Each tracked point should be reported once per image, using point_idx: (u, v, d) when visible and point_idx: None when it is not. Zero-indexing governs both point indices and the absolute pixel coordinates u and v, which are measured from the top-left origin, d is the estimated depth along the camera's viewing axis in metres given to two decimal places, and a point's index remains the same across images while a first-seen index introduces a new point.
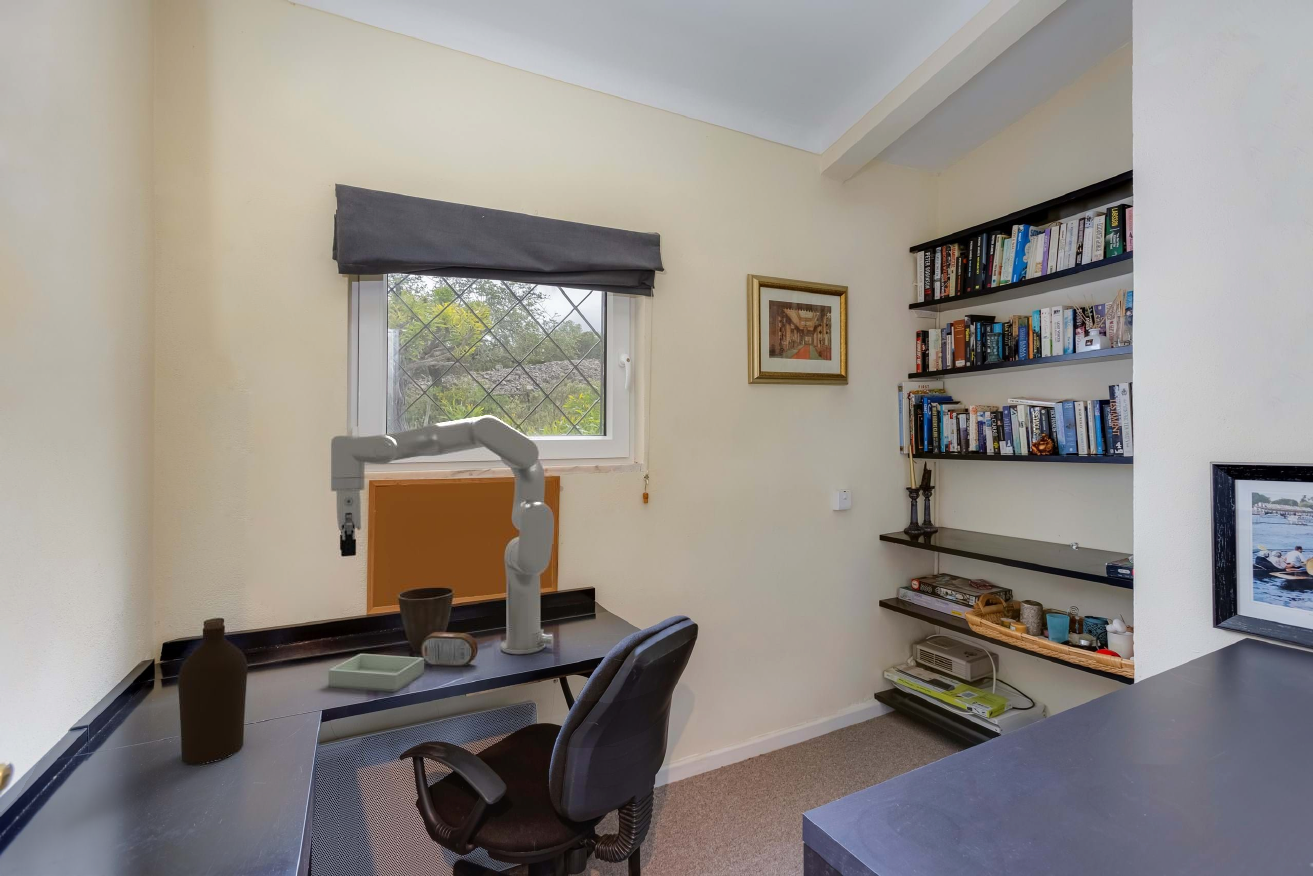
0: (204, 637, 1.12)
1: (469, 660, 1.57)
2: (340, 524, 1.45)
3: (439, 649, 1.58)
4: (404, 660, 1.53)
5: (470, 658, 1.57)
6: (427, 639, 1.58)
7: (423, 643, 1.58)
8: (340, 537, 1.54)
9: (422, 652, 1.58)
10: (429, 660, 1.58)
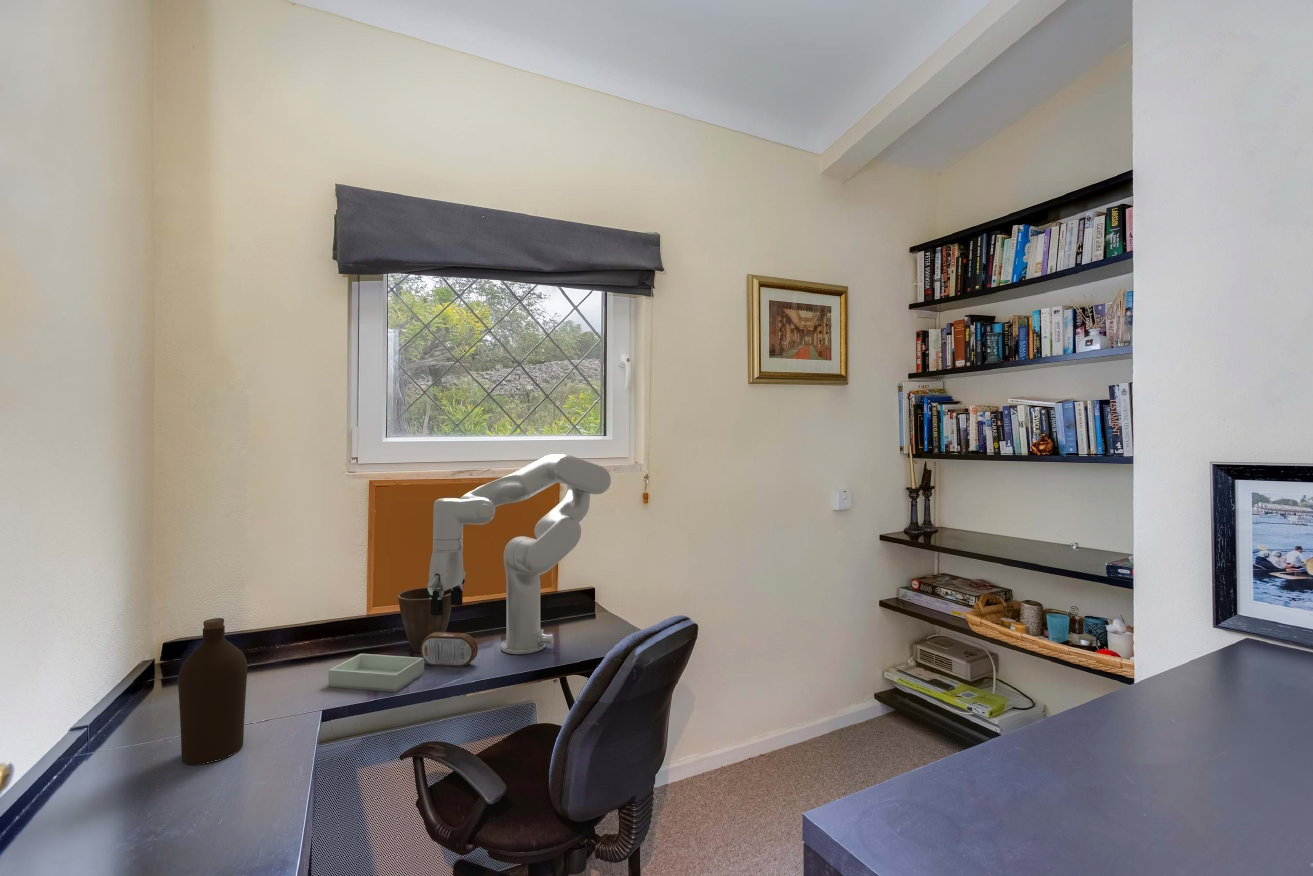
0: (204, 637, 1.12)
1: (469, 660, 1.57)
2: None
3: (439, 649, 1.58)
4: (404, 660, 1.53)
5: (470, 658, 1.57)
6: (427, 639, 1.58)
7: (423, 643, 1.58)
8: None
9: (422, 652, 1.58)
10: (429, 660, 1.58)
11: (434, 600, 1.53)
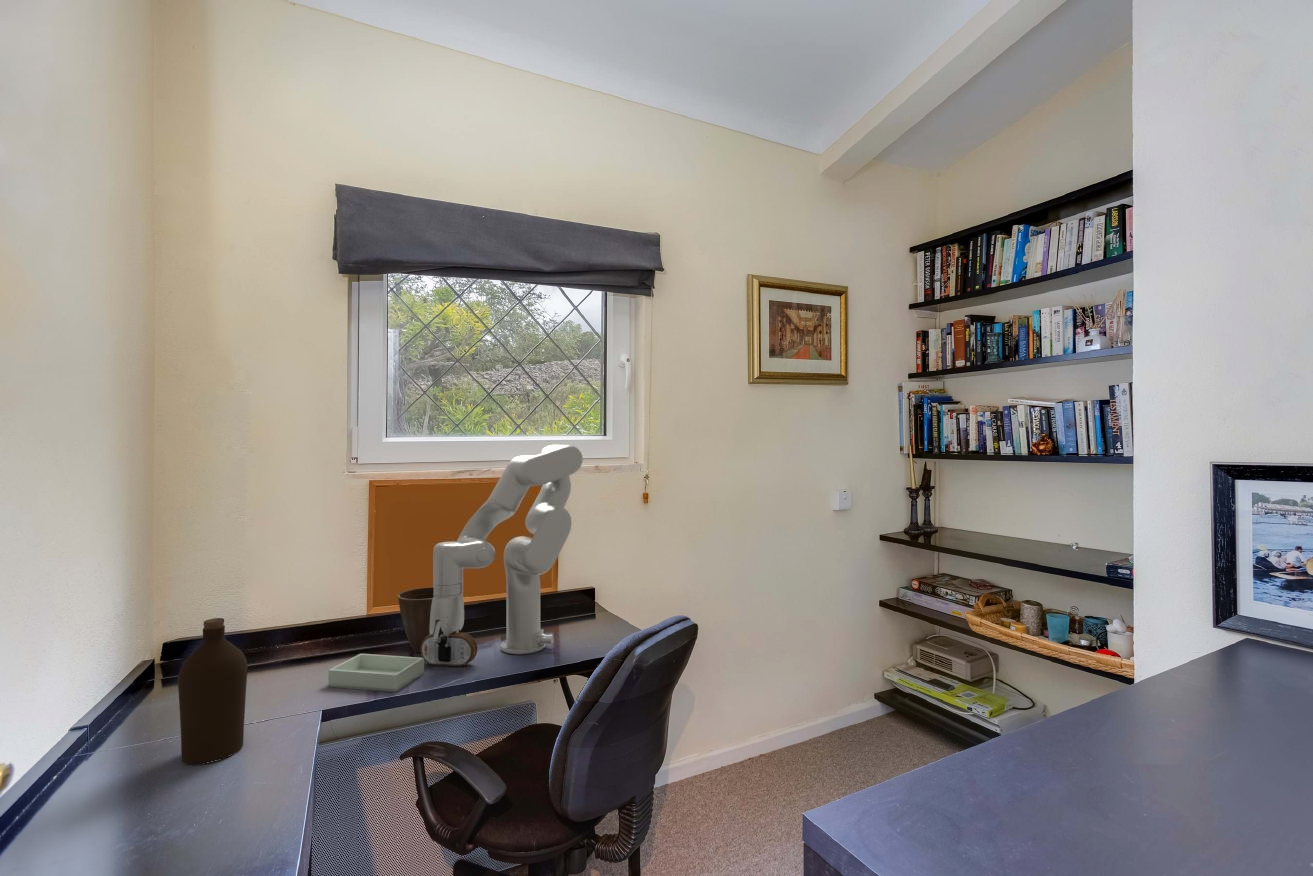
0: (204, 637, 1.12)
1: (468, 660, 1.57)
2: None
3: None
4: (404, 660, 1.53)
5: (469, 658, 1.57)
6: (427, 638, 1.58)
7: (423, 642, 1.58)
8: (450, 648, 1.57)
9: (422, 651, 1.58)
10: (429, 659, 1.58)
11: (442, 647, 1.56)
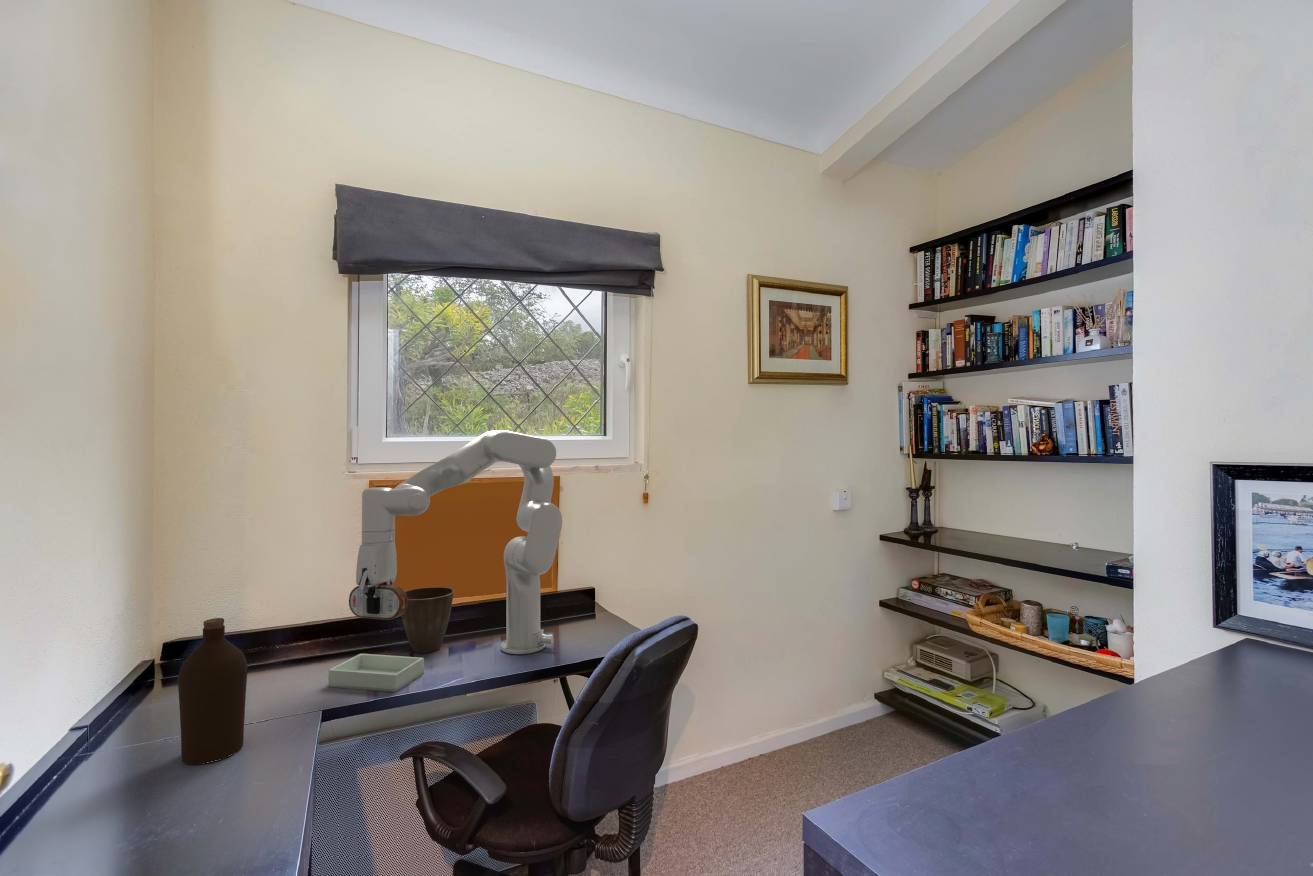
0: (204, 637, 1.12)
1: (396, 613, 1.46)
2: None
3: None
4: (404, 660, 1.53)
5: (398, 611, 1.46)
6: (356, 588, 1.49)
7: (352, 593, 1.49)
8: (379, 599, 1.47)
9: (350, 603, 1.49)
10: (357, 611, 1.48)
11: (370, 598, 1.46)
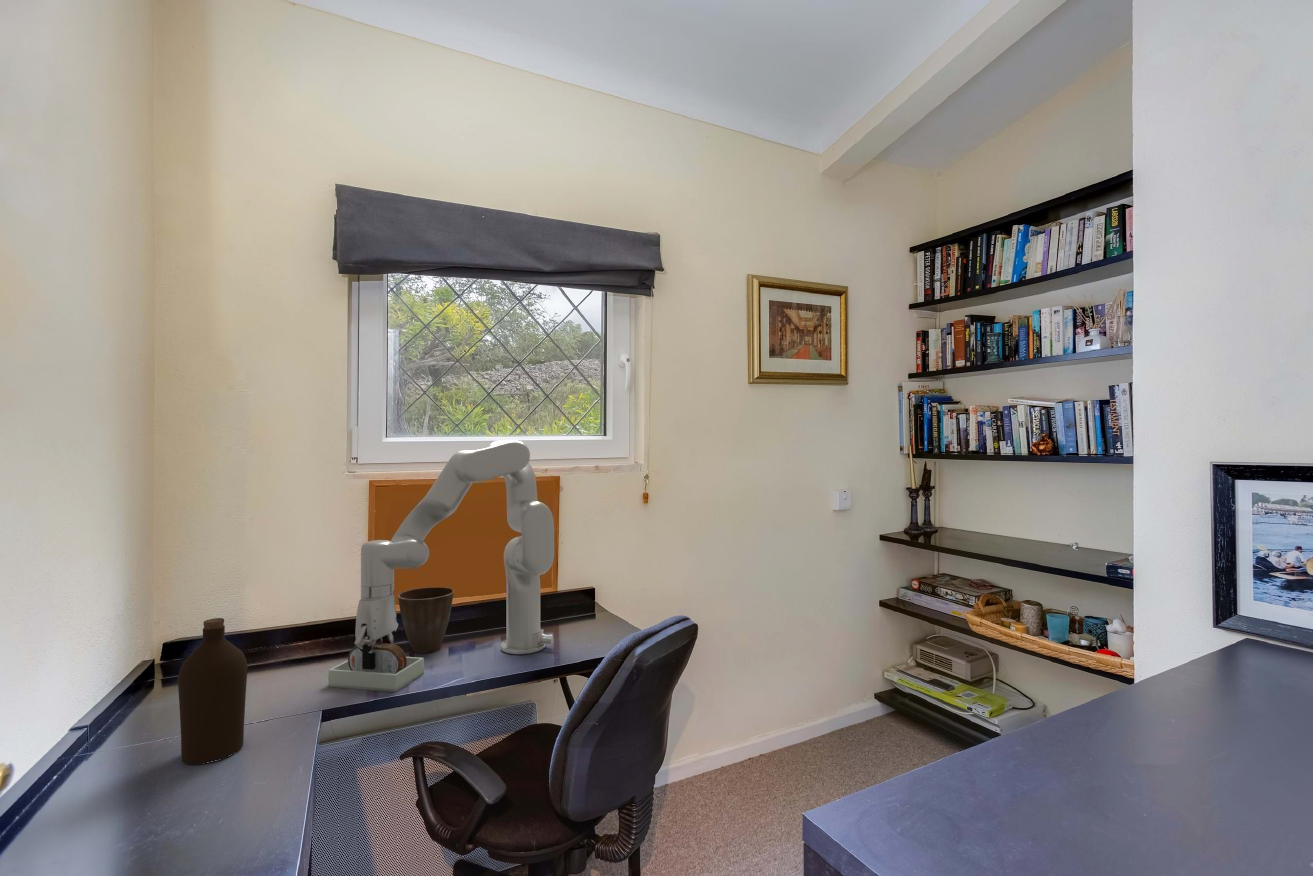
0: (204, 637, 1.12)
1: None
2: None
3: None
4: None
5: (397, 671, 1.46)
6: (354, 649, 1.48)
7: (351, 653, 1.48)
8: (375, 654, 1.45)
9: (350, 663, 1.49)
10: None
11: (365, 654, 1.44)
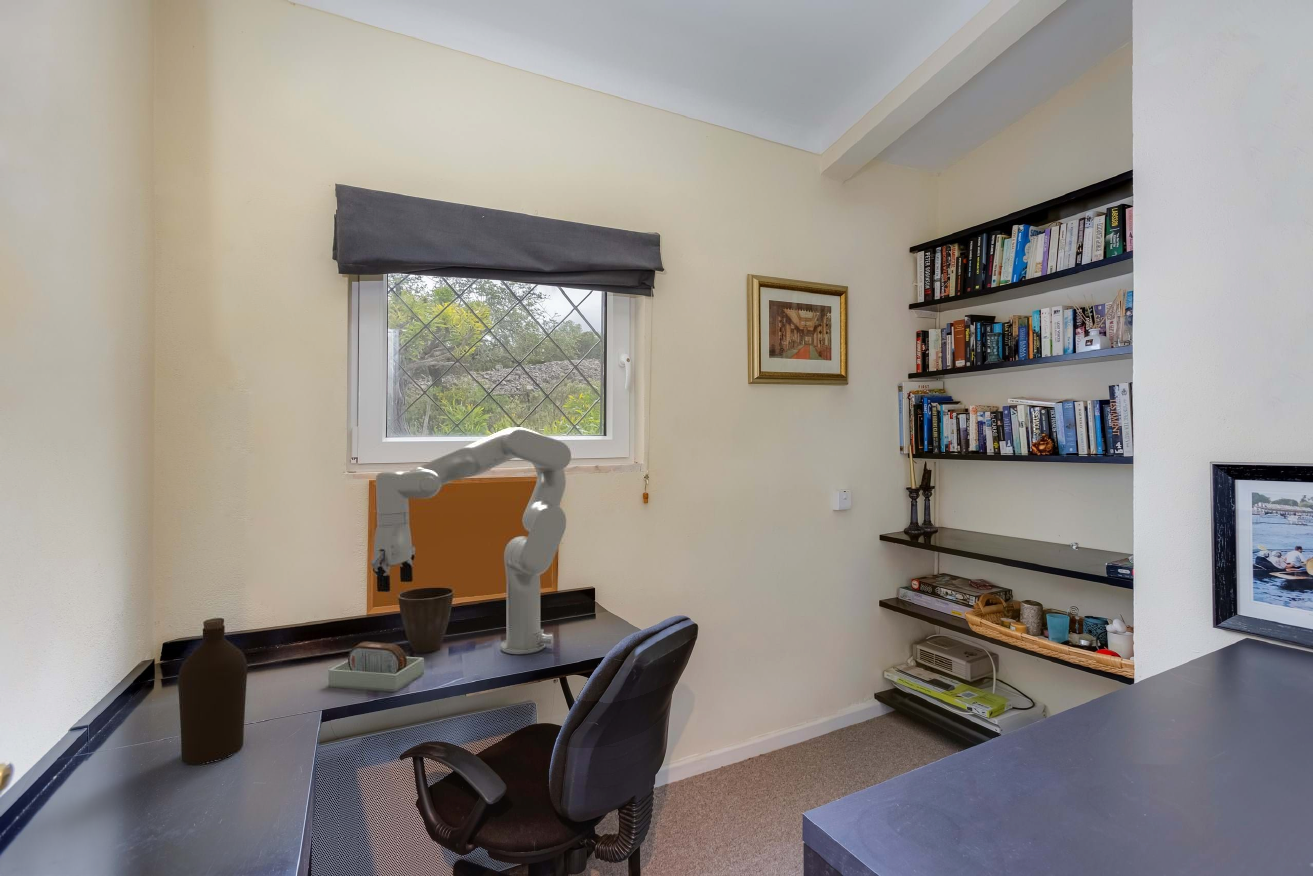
0: (204, 637, 1.12)
1: None
2: None
3: (367, 660, 1.48)
4: None
5: (397, 671, 1.46)
6: (354, 649, 1.48)
7: (351, 653, 1.48)
8: (389, 577, 1.49)
9: (350, 663, 1.49)
10: None
11: (380, 576, 1.48)
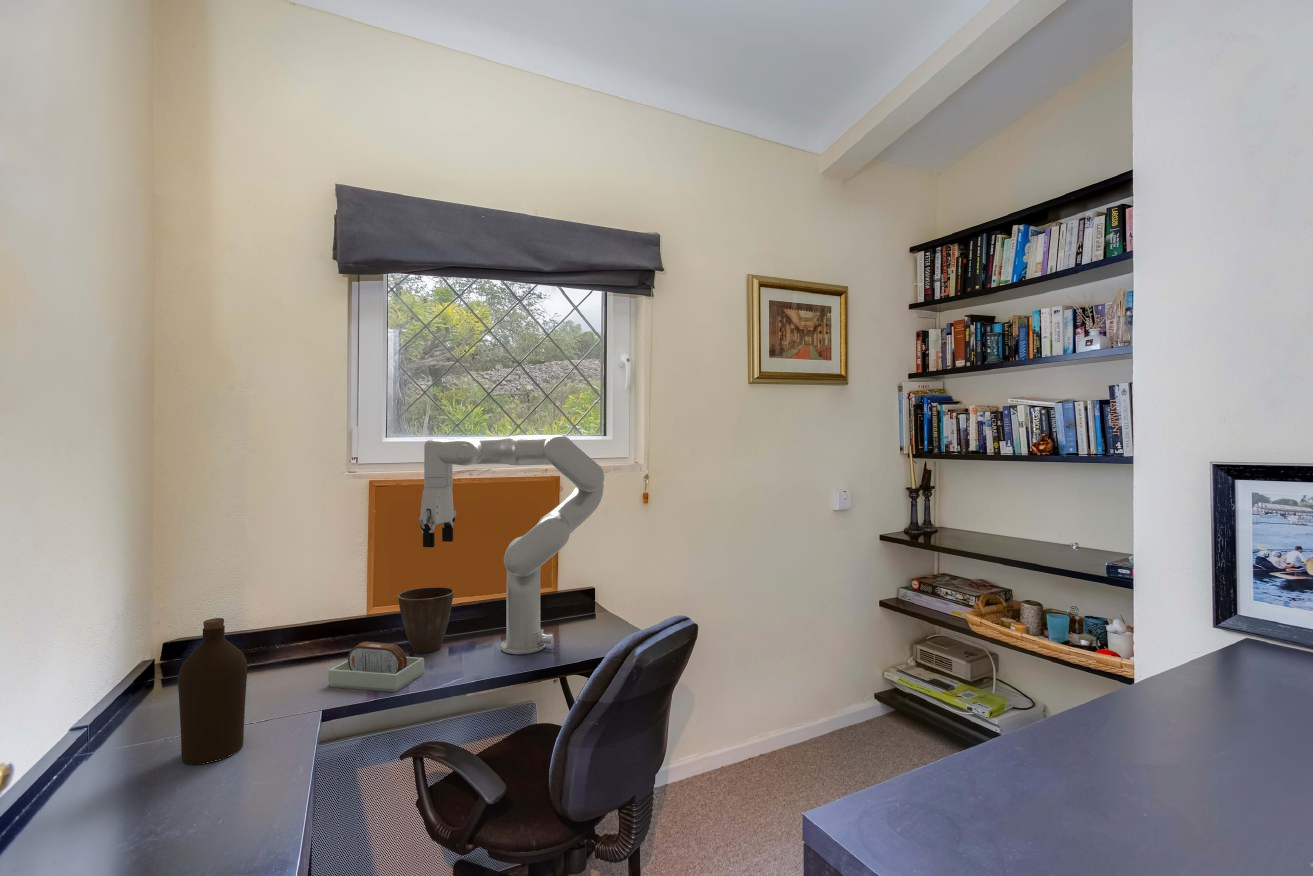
0: (204, 637, 1.12)
1: None
2: None
3: (367, 660, 1.48)
4: None
5: (397, 671, 1.46)
6: (354, 649, 1.48)
7: (351, 653, 1.48)
8: (434, 534, 1.64)
9: (350, 663, 1.49)
10: None
11: (426, 533, 1.63)
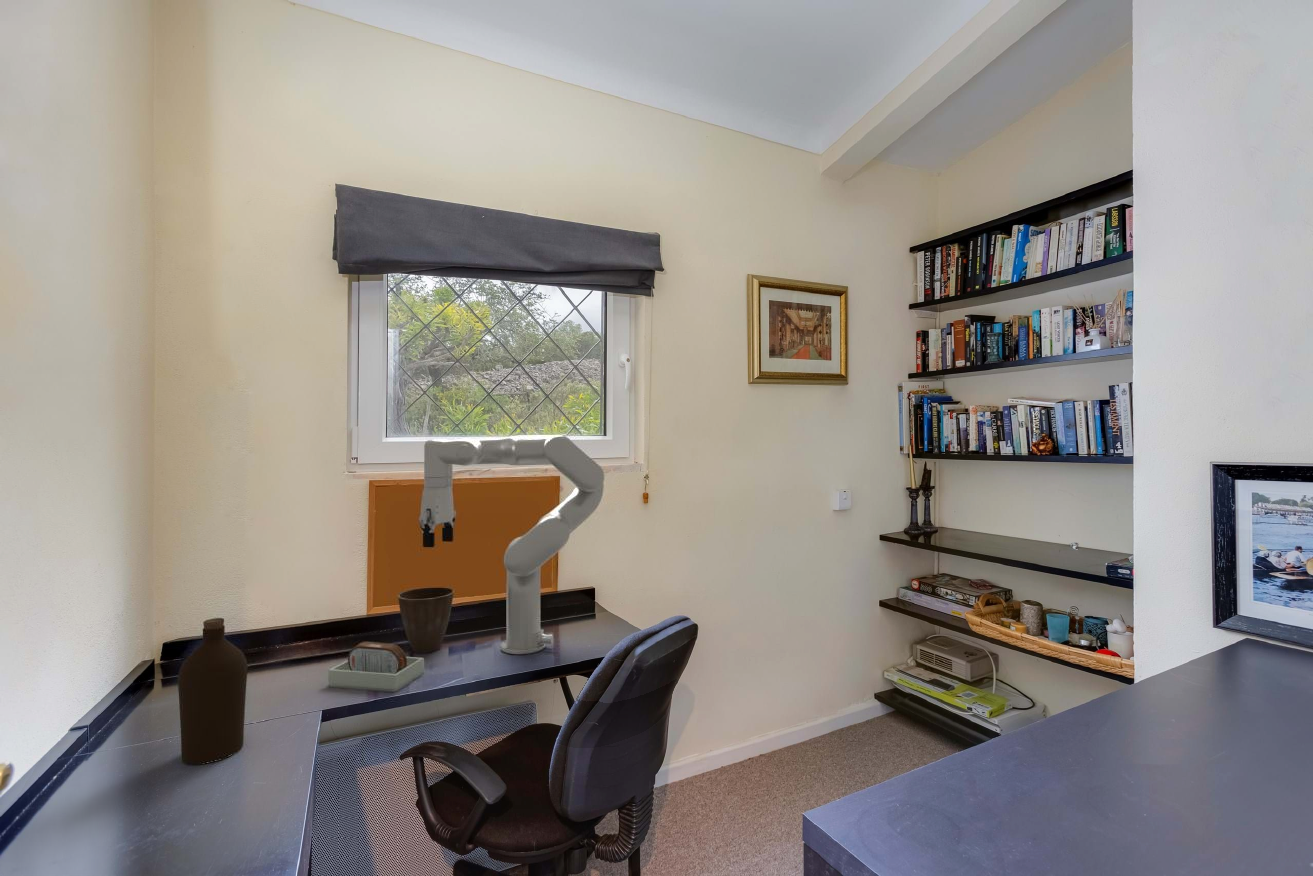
0: (204, 637, 1.12)
1: None
2: None
3: (367, 660, 1.48)
4: None
5: (397, 671, 1.46)
6: (354, 649, 1.48)
7: (351, 653, 1.48)
8: (434, 534, 1.64)
9: (350, 663, 1.49)
10: None
11: (426, 533, 1.63)
